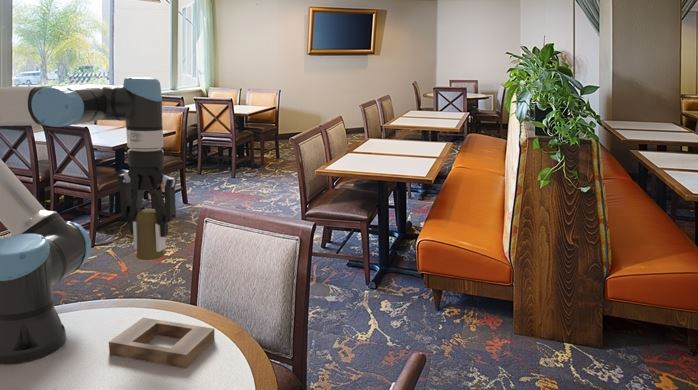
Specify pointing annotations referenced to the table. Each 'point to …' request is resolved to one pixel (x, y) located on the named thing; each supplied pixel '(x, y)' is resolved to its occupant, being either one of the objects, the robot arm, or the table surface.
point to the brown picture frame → (178, 355)
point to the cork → (147, 235)
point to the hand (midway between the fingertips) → (150, 248)
